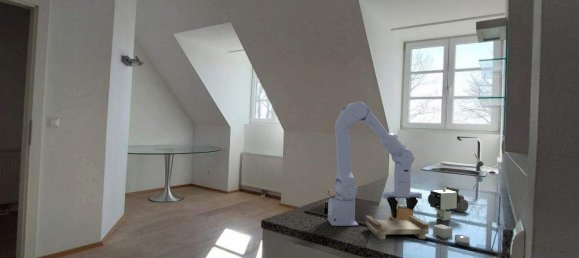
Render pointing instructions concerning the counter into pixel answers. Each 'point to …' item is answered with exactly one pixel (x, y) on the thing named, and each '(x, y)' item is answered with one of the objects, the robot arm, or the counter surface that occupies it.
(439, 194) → the pneumatic valve
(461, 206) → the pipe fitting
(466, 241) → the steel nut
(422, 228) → the stand
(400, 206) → the housing
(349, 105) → the robot arm
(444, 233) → the rubber block
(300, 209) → the counter surface
